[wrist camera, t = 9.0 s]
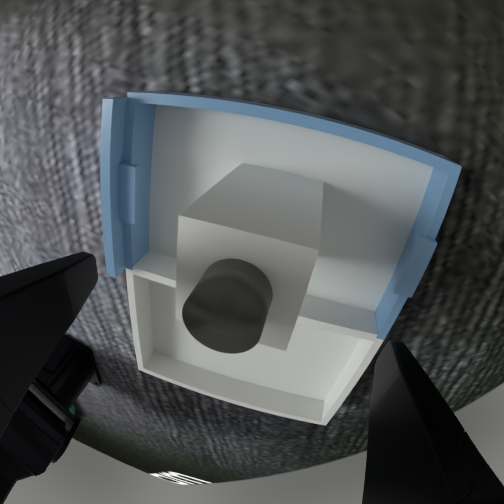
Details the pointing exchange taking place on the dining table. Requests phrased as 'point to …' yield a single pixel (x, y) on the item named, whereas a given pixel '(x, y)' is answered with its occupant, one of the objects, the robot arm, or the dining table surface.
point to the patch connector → (247, 258)
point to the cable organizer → (330, 251)
